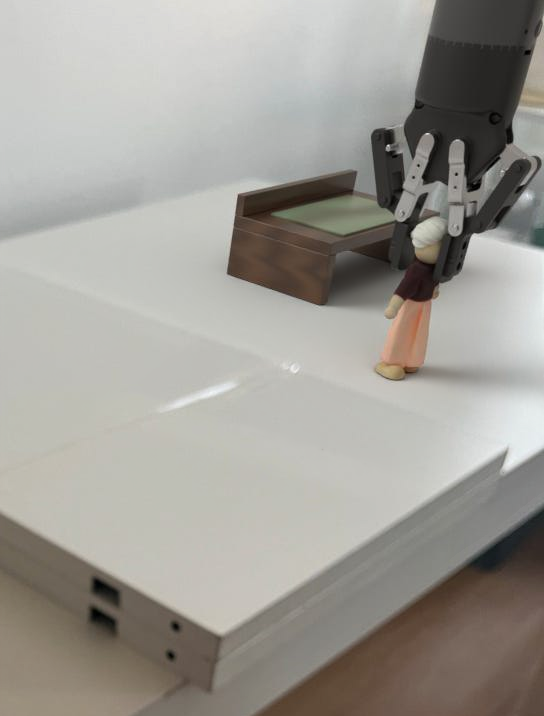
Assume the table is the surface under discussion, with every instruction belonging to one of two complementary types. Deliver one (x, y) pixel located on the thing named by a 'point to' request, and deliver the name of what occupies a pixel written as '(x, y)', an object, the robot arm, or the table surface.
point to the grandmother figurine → (413, 304)
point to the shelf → (307, 233)
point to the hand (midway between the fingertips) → (421, 273)
